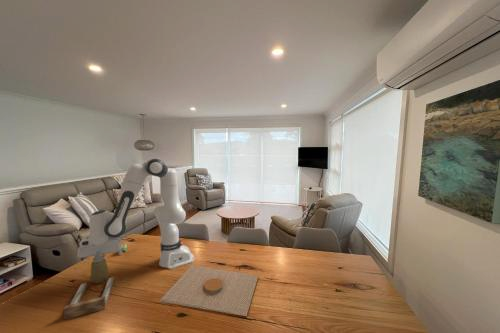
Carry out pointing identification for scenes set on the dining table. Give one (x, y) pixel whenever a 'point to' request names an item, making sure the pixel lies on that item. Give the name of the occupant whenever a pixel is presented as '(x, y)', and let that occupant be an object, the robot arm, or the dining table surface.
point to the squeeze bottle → (99, 269)
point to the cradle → (87, 302)
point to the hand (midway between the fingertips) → (100, 261)
